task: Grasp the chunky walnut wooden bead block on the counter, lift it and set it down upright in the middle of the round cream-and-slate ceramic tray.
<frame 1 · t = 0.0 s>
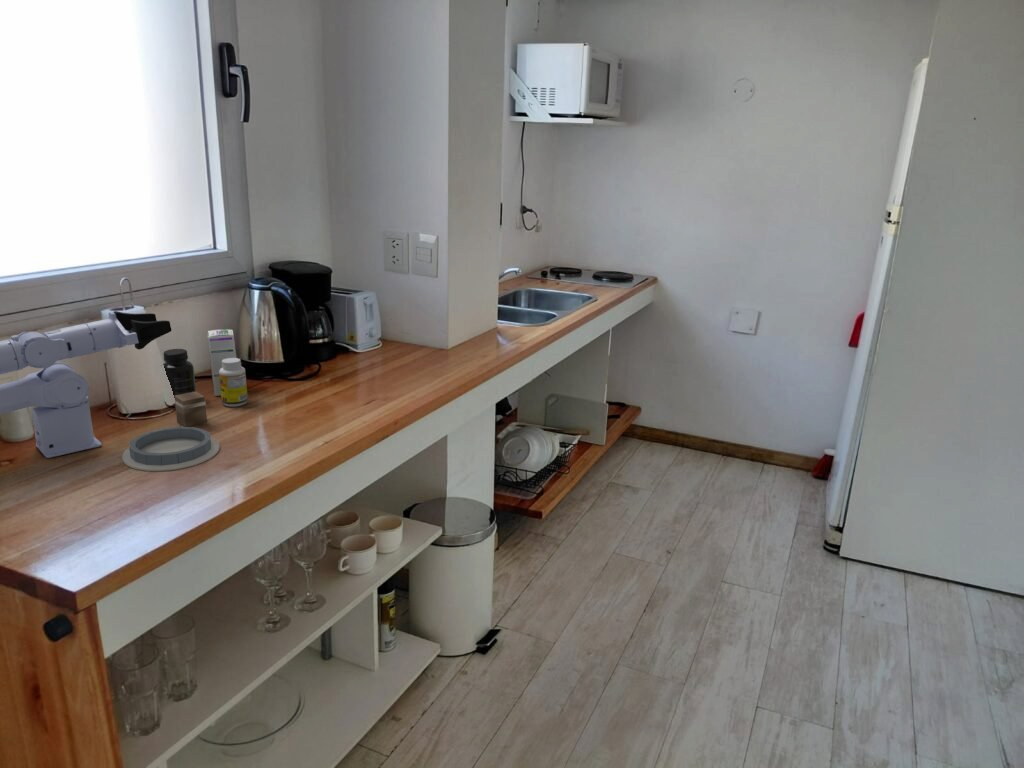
hand: (162, 322, 152), 22 cm above the worktop, tool horizontal, fingers open, 7 cm apart
walnut bead block: (192, 423, 159), on the worktop
round tray: (172, 452, 145), on the worktop
syrup box: (226, 392, 179), on the worktop
supplement bottle: (180, 403, 171), on the worktop
supplement bottle 2: (235, 404, 172), on the worktop
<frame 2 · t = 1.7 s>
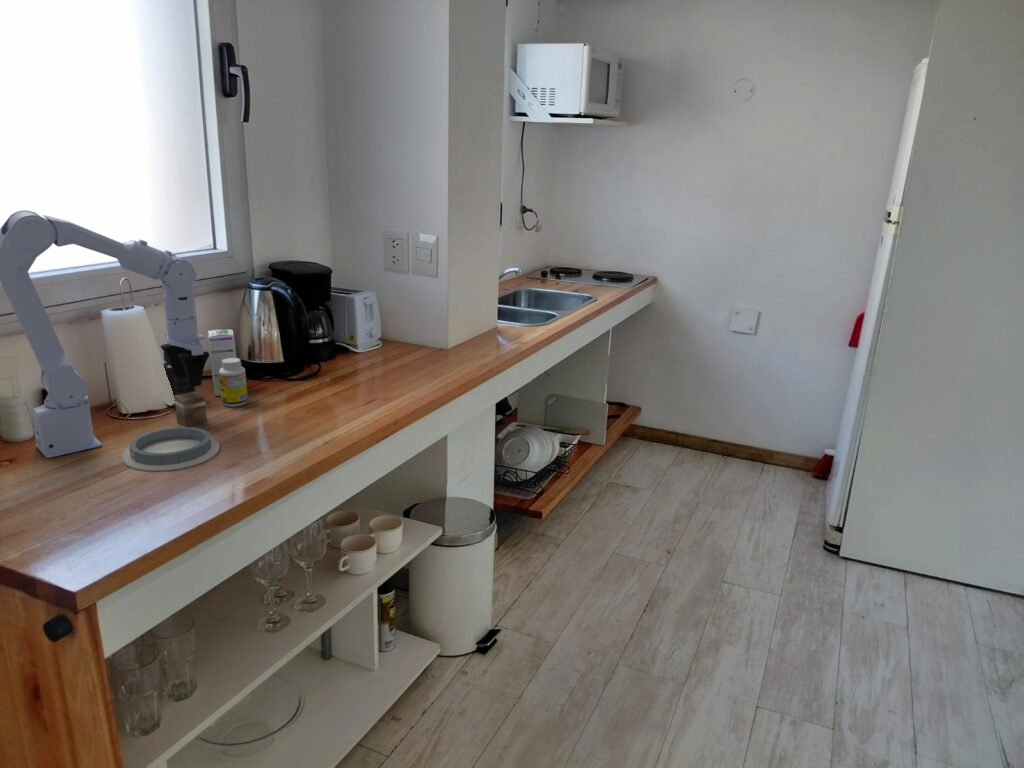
hand: (187, 381, 157), 9 cm above the worktop, tool pointing down, fingers open, 7 cm apart
nothing on the worktop moved.
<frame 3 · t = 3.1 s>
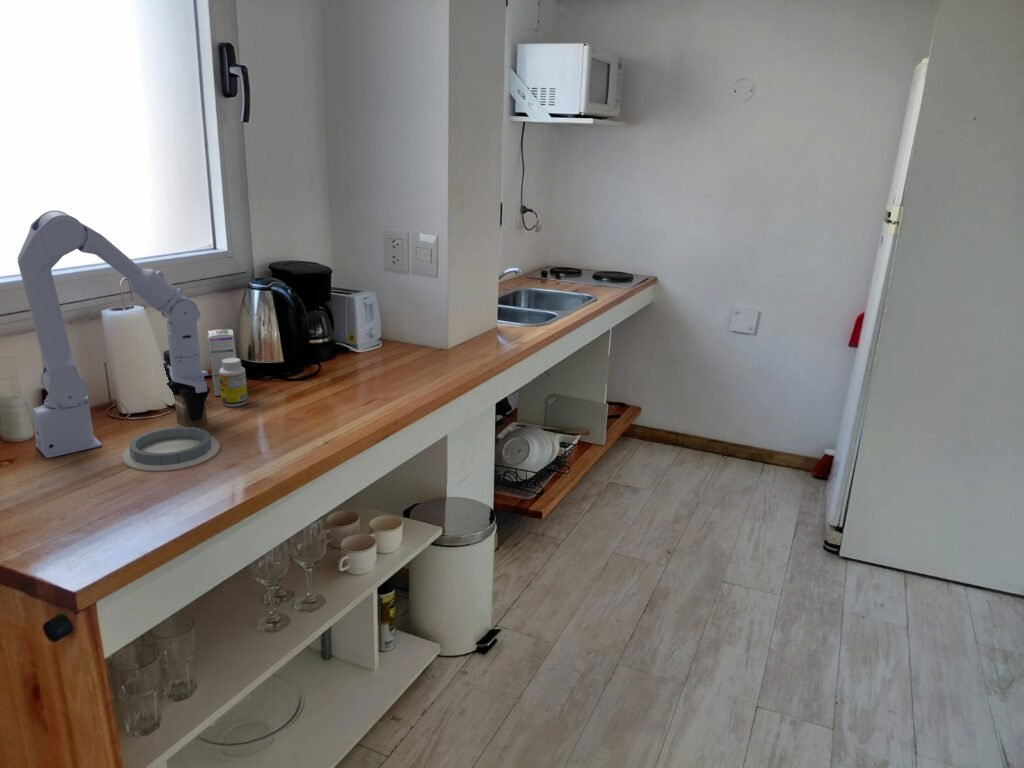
hand: (191, 416, 159), 1 cm above the worktop, tool pointing down, fingers closed on walnut bead block, 4 cm apart
walnut bead block: (192, 422, 159), on the worktop, touching gripper
everything else where it was.
when the fingers open (3 cm above the worktop, at t = 10.0 s): walnut bead block drops 1 cm, resting on round tray.
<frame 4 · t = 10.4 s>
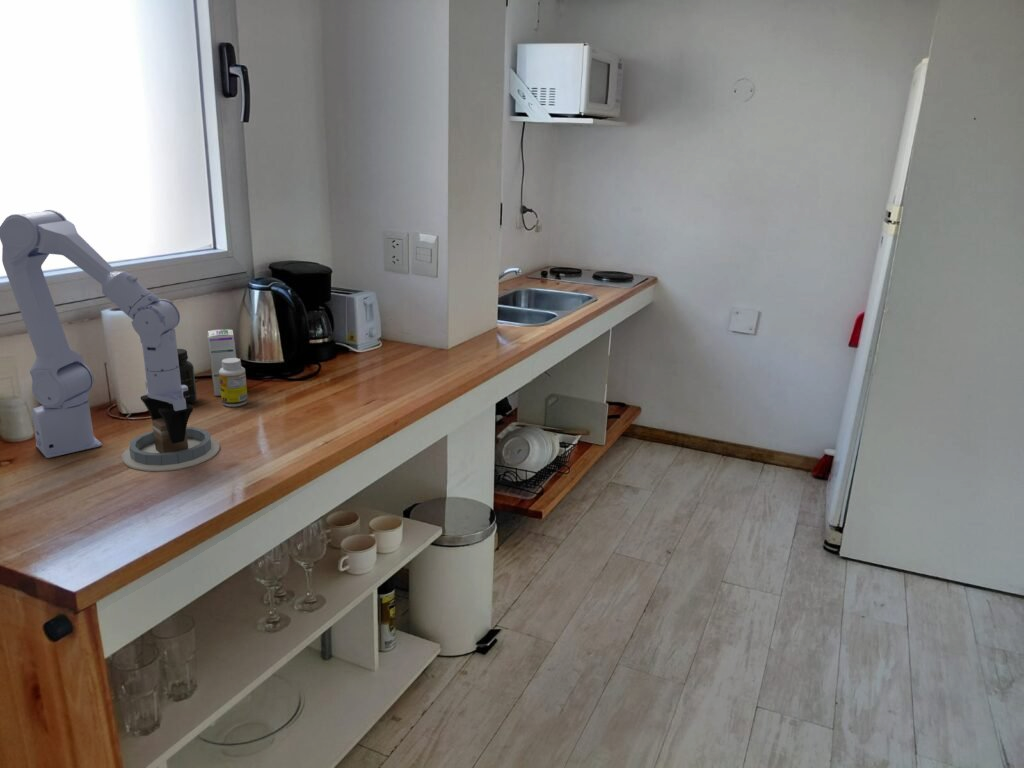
hand: (170, 435, 144), 3 cm above the worktop, tool pointing down, fingers open, 7 cm apart
walnut bead block: (172, 450, 144), resting on round tray
everything else where it was.
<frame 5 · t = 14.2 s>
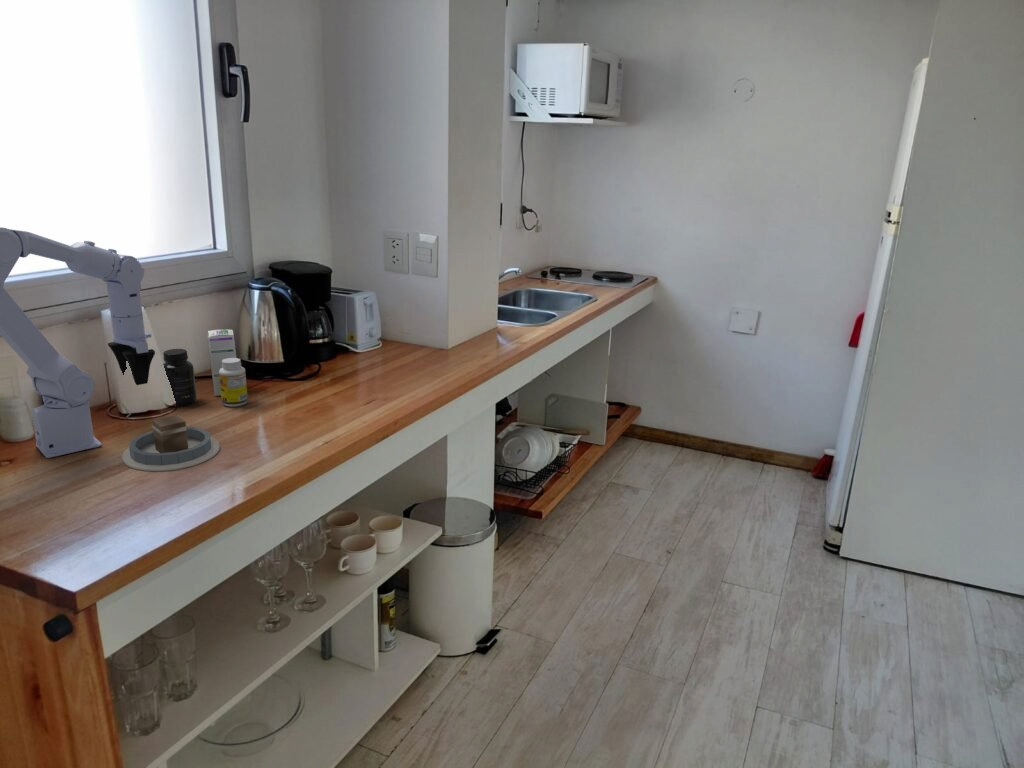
hand: (135, 379, 156), 9 cm above the worktop, tool pointing down, fingers open, 7 cm apart
nothing on the worktop moved.
at the end: walnut bead block 0.0 cm off-centre on the round tray, point 0.5 cm above the round tray's base; walnut bead block tilted 0°; the gripper is holding nothing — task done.
